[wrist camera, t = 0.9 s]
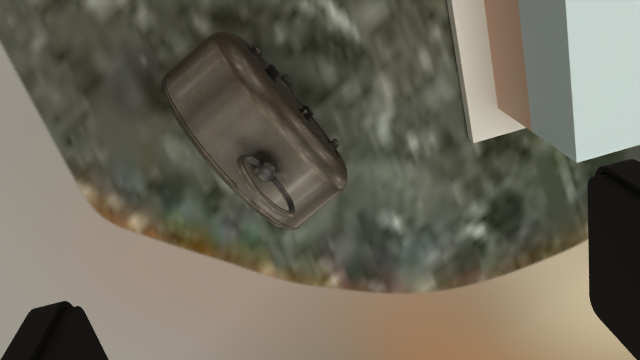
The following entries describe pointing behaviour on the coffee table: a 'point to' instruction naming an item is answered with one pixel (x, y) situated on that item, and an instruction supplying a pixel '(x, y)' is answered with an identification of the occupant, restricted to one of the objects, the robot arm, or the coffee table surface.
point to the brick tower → (551, 71)
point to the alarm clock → (254, 130)
